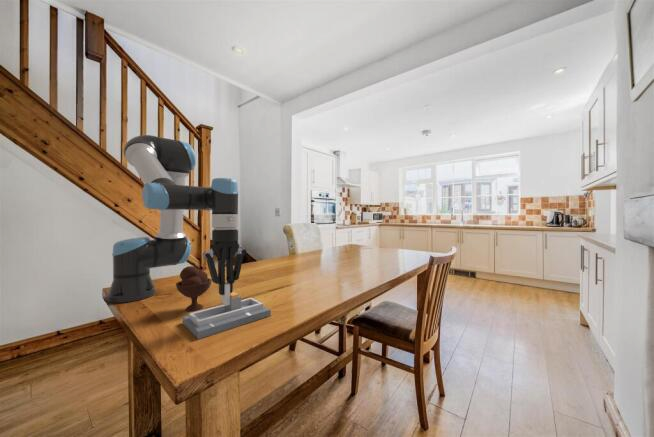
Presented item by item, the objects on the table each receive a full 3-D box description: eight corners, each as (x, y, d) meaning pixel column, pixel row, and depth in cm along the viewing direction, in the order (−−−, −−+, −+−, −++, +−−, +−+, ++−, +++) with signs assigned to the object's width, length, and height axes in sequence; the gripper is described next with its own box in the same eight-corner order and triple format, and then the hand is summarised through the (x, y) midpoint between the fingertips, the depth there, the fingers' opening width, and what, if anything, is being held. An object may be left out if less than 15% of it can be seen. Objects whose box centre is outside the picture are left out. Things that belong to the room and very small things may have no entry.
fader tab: (225, 310, 81) (224, 292, 81) (234, 308, 83) (233, 290, 83) (231, 315, 78) (231, 296, 78) (241, 312, 80) (240, 294, 80)
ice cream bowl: (197, 315, 82) (197, 269, 82) (168, 313, 85) (168, 268, 84) (218, 304, 93) (217, 263, 93) (191, 302, 95) (191, 262, 95)
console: (182, 323, 77) (182, 311, 77) (249, 304, 92) (249, 295, 92) (198, 339, 67) (198, 326, 67) (270, 315, 82) (270, 304, 82)
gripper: (207, 230, 71) (208, 313, 72) (250, 228, 80) (251, 302, 81) (198, 229, 77) (199, 306, 77) (239, 227, 86) (240, 296, 86)
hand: (225, 304), depth 79 cm, fingers closed
